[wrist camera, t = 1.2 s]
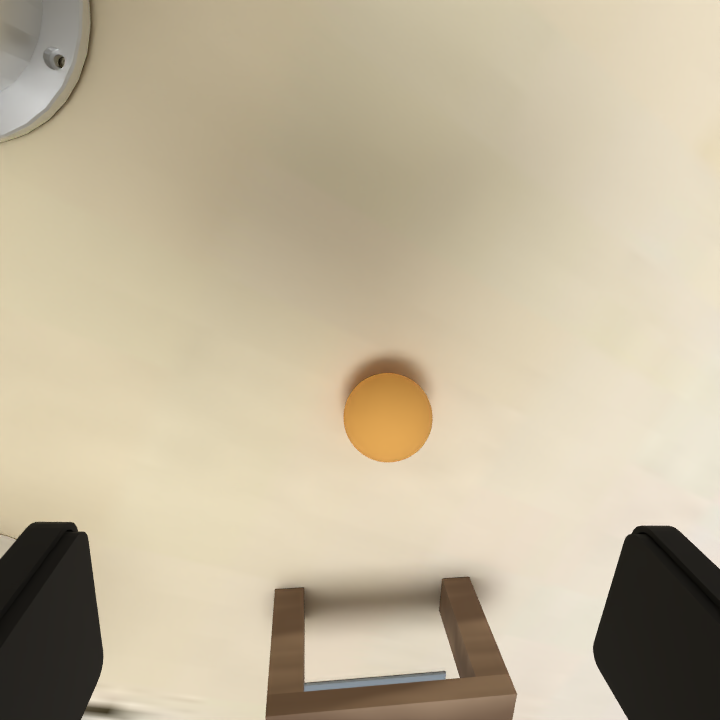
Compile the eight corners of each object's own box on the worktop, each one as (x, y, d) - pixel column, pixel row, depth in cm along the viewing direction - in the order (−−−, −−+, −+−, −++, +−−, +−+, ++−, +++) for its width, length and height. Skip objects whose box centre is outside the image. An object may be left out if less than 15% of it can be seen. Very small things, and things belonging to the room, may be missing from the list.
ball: (341, 361, 29) (347, 396, 24) (424, 359, 29) (446, 393, 25) (340, 435, 31) (346, 482, 26) (418, 433, 31) (438, 478, 27)
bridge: (274, 589, 34) (265, 716, 26) (469, 577, 36) (517, 693, 28) (276, 621, 35) (267, 753, 27) (465, 608, 37) (510, 729, 29)
